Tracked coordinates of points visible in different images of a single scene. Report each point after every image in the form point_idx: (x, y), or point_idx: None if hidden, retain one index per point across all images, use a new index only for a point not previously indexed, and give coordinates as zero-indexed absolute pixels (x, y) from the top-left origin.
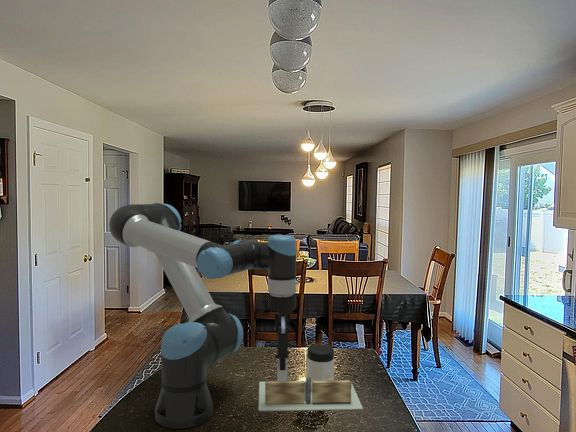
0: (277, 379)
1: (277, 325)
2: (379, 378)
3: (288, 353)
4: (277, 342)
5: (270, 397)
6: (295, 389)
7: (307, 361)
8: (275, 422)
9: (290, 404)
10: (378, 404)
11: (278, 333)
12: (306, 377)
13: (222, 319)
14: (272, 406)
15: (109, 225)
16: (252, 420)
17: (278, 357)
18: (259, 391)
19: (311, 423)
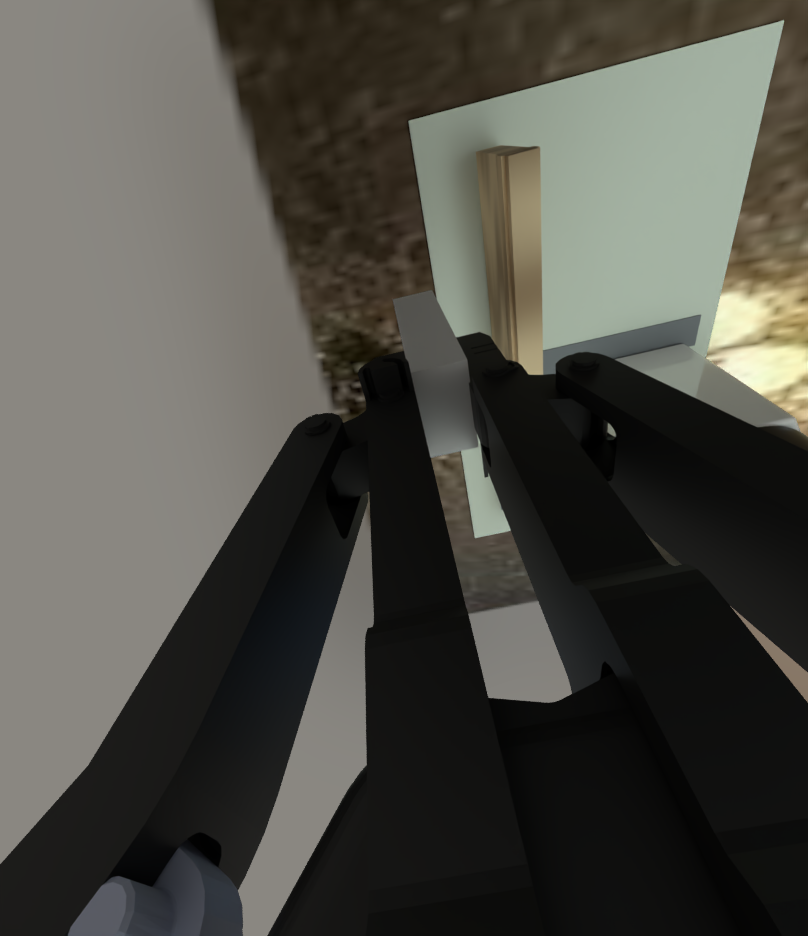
0: (394, 303)
1: (379, 854)
2: (673, 563)
3: (483, 466)
4: (602, 397)
5: (486, 190)
6: (507, 348)
7: (733, 411)
8: (326, 251)
9: (486, 298)
10: (508, 565)
11: (88, 787)
12: (692, 358)
13: None
14: (459, 204)
15: None
16: (308, 103)
17: (293, 431)
18: (638, 62)
19: (358, 402)
